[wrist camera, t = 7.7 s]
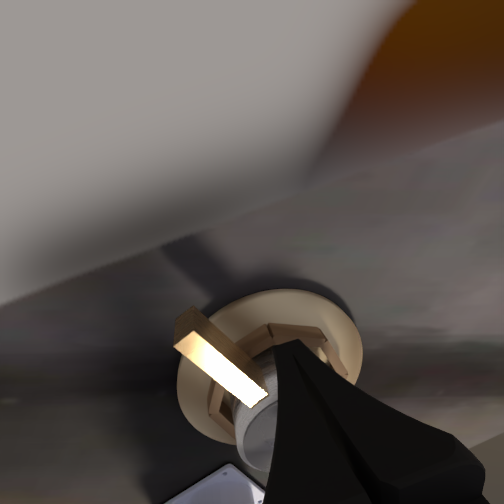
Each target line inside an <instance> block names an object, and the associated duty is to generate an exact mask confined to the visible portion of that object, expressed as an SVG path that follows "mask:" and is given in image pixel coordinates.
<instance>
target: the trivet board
mask: <svg viewBox="0 0 504 504" xmlns="http://www.w3.org/2000/svg"><path fill="white" fill-rule="evenodd" d="M208 319H209V320H210V321H211V322H212V323H213V324H214V325H215V326H216V327H218V328H219V329H220V330H221V331H222V332H223V333H224V334H225V335H226V336H227V337H228V338H230V339H231V340H232V341H233V342H234V343H235V344H236V345H237V346H238V347H239V348H240V349H242V350H243V351H244V352H245V353H246V354H247V355H248V356H249V357H250V358H251V359H252V358H253V357H255V356H256V355H258V354H259V353H261V352H262V351H264V350H266V349H267V348H269V347H270V346H272V345H279V344H282V343H285V342H289V341H292V340H295V339H300V340H301V341H302V342H303V343H304V344H305V345H306V346H307V347H309V348H310V349H312V350H313V351H314V352H315V354H316V355H317V356H318V357H319V358H320V359H321V360H322V361H323V362H324V363H326V364H327V365H328V366H329V367H330V368H332V369H333V370H334V371H335V372H337V373H338V374H339V375H341V376H342V377H343V378H345V379H346V380H347V381H349V382H350V383H352V384H353V385H354V384H355V382H356V380H357V378H358V375H359V372H360V368H361V364H362V355H363V352H362V343H361V339H360V335H359V333H358V330H357V328H356V326H355V325H354V323H353V322H352V320H351V319H350V318H349V317H348V316H347V315H346V314H345V313H344V312H343V311H342V310H341V308H340V307H339V306H337V305H336V304H335V303H333V302H332V301H331V300H329V299H327V298H325V297H323V296H321V295H319V294H316V293H313V292H310V291H305V290H300V289H272V290H266V291H261V292H257V293H254V294H251V295H247V296H245V297H242V298H240V299H238V300H235V301H233V302H231V303H230V304H228V305H226V306H224V307H223V308H221V309H220V310H218V311H217V312H216V313H214V314H213V315H212V316H210V317H209V318H208ZM177 396H178V400H179V404H180V407H181V409H182V411H183V414H184V415H185V417H186V418H187V420H188V421H189V422H190V423H191V424H192V425H193V426H194V427H195V428H196V429H197V430H198V431H200V432H201V433H202V434H204V435H206V436H208V437H210V438H212V439H214V440H217V441H220V442H223V443H227V444H231V445H237V443H236V436H235V430H234V423H233V417H232V410H231V403H230V397H229V390H228V389H226V388H225V387H224V386H223V385H221V384H220V383H219V382H217V381H216V380H215V379H214V378H212V377H211V376H210V375H209V374H207V373H206V372H205V371H204V370H202V369H201V368H200V367H198V366H197V365H196V364H195V363H193V362H192V361H191V360H190V359H188V358H187V357H186V356H185V355H183V354H182V356H181V359H180V363H179V367H178V376H177Z"/></svg>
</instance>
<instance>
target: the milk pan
mask: <svg viewBox="0 0 504 504" xmlns="http://www.w3.org/2000/svg"><path fill="white" fill-rule="evenodd" d="M273 346H276V345H272V346H270V347H269V348H267V349H266V350H264V351H262V352H261V353H259V354H258V355H256V356H255V357H253V358H252V359H251V358H250V357H249V356H248V355H247V354H246V353H245V352H244V351H243V350H242V349H240V348H239V347H238V346H237V345H236V344H235V343H234V342H233V341H232V340H231V339H230V338H228V337H227V336H226V335H225V334H224V333H223V332H222V331H221V330H220V329H219V328H218V327H216V326H215V325H214V324H213V323H212V322H211V321H210V320H209V319H208V318H207V317H205V316H204V315H203V314H202V313H201V312H200V311H199V310H198V309H197V308H196V307H195V306H192V307H191V308H189V309H188V310H187V311H185V312H184V313H183V314H182V315H180V316H179V317H178V318H177V319H176V322H175V333H174V344H173V347H174V348H176V349H177V350H178V351H179V352H181V353H182V354H183V355H185V356H186V357H187V358H188V359H190V360H191V361H192V362H193V363H195V364H196V365H197V366H198V367H200V368H201V369H202V370H204V371H205V372H206V373H207V374H209V375H210V376H211V377H212V378H214V379H215V380H216V381H217V382H219V383H220V384H221V385H223V386H224V387H225V388H226V389H228V390H229V397H230V403H231V410H232V417H233V423H234V430H235V436H236V443H237V449H238V452H239V455H240V457H241V458H242V460H243V461H244V462H245V463H246V464H248V465H249V466H251V467H253V468H255V469H258V470H261V471H266V472H270V466H271V461H272V455H273V449H274V441H275V432H276V422H277V405H278V385H277V371H276V366H275V362H274V357H273V353H272V348H273ZM308 348H309V347H308ZM309 349H310V348H309ZM310 350H311V351H312V352H313V353H314V354H315V352H314V351H313V350H312V349H310ZM315 355H316V354H315ZM316 356H317V355H316ZM317 357H318V356H317Z"/></svg>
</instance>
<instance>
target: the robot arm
mask: <svg viewBox="0 0 504 504" xmlns="http://www.w3.org/2000/svg"><path fill="white" fill-rule="evenodd" d="M272 353H273V357H274V362H275V366H276V371H277V385H278V405H277V422H276V432H275V441H274V449H273V455H272V461H271V466H270V472H269V477H268V482H267V486H266V491H264V490H263V489H261V488H260V487H259V486H258V485H256V484H255V483H254V482H253V481H252V480H250V479H249V478H248V477H247V476H246V475H244V474H243V473H242V472H241V471H239V470H238V469H237V468H236V467H235V466H233V465H232V464H227V465H225V466H223V467H222V468H220V469H219V470H217V471H215V472H214V473H212V474H211V475H209V476H207V477H206V478H204V479H203V480H201V481H199V482H198V483H196V484H195V485H193V486H191V487H190V488H188V489H187V490H185V491H183V492H182V493H180V494H179V495H177V496H176V497H174V498H172V499H171V500H169V501H168V502H166V503H164V504H490V503H489V502H488V501H487V500H486V499H485V497H484V496H483V495H482V491H483V486H484V482H485V468H484V466H483V465H482V463H481V462H480V461H479V460H478V459H477V458H476V457H475V456H474V455H473V454H472V452H471V451H469V450H468V449H467V448H466V447H465V446H464V445H463V444H462V443H461V442H460V441H459V440H458V439H457V438H455V437H454V436H453V435H452V434H450V433H447V432H445V431H442V430H440V429H437V428H435V427H432V426H430V425H427V424H425V423H422V422H420V421H418V420H416V419H414V418H411V417H409V416H407V415H405V414H403V413H401V412H399V411H397V410H395V409H394V408H392V407H390V406H388V405H386V404H384V403H382V402H380V401H379V400H377V399H375V398H374V397H372V396H370V395H369V394H367V393H365V392H364V391H362V390H361V389H359V388H358V387H356V386H355V385H353V384H352V383H350V382H349V381H347V380H346V379H345V378H343V377H342V376H341V375H339V374H338V373H337V372H335V371H334V370H333V369H332V368H330V367H329V366H328V365H327V364H326V363H324V362H323V361H322V360H321V359H320V358H319V357H317V356H316V355H315V354H314V353H313V352H312V351H311V350H310V349H309V348H308V347H307V346H306V345H305V344H304V343H303V342H302V341H301V340H300V339H295V340H292V341H289V342H285V343H282V344H279V345H276V346H273V348H272Z"/></svg>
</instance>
